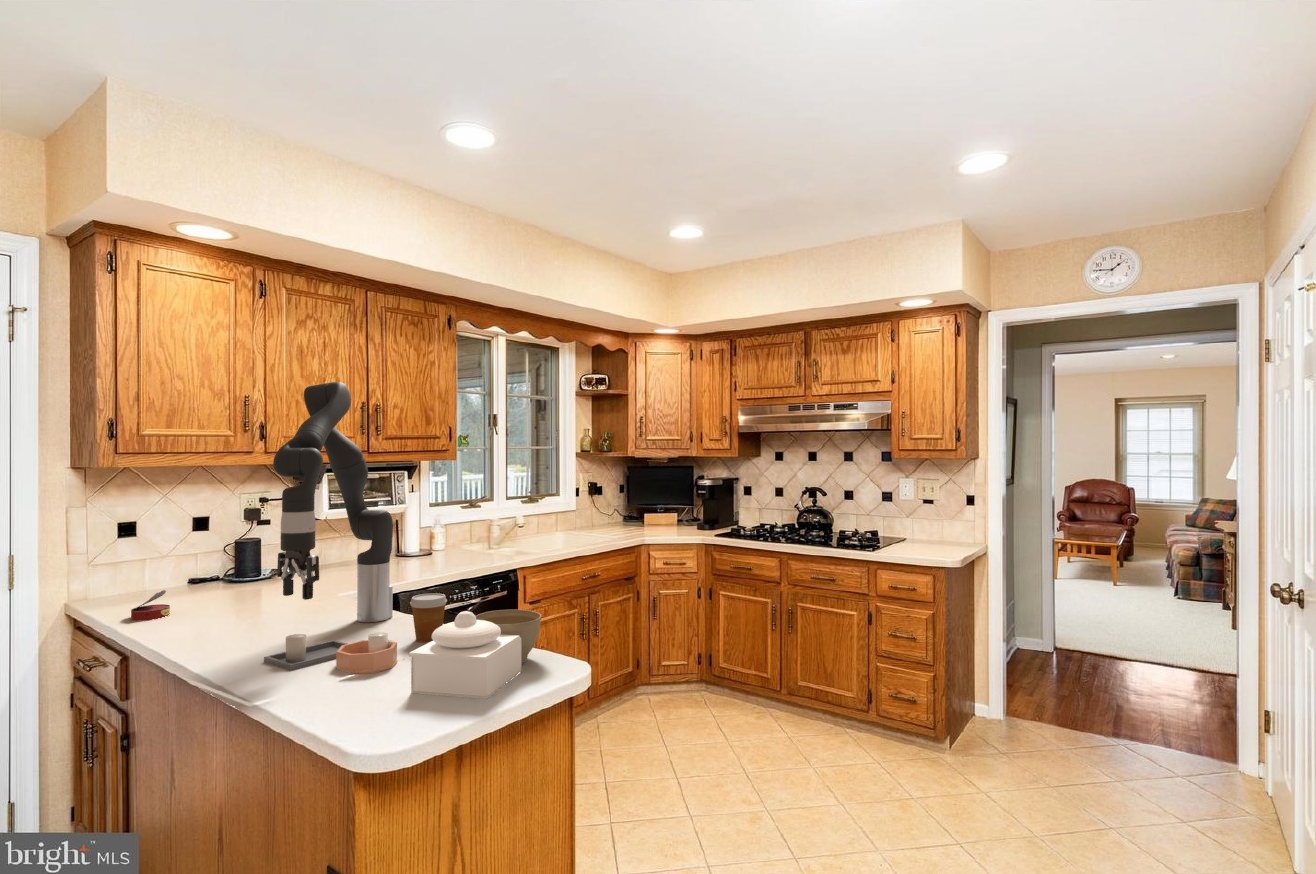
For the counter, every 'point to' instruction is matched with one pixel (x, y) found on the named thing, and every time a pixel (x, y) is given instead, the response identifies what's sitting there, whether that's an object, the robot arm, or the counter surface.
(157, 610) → the canned food
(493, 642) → the white lidded box
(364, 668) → the terracotta bowl
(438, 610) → the disposable coffee cup
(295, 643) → the grey cylinder
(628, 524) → the counter surface
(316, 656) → the parts tray
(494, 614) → the planter bowl
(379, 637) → the white cylinder
